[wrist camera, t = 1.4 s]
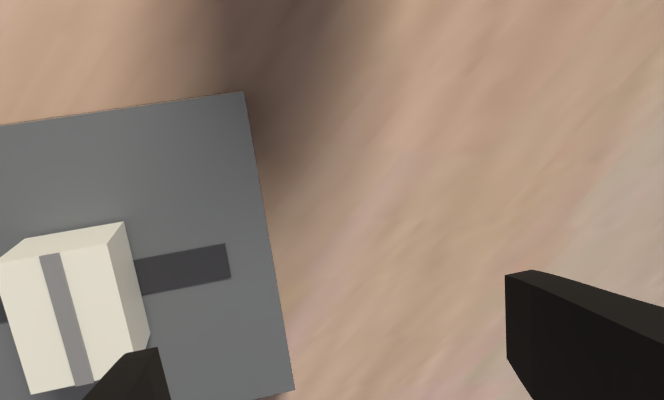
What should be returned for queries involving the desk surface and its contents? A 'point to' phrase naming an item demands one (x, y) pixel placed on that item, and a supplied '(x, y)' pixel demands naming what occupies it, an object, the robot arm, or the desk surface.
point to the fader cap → (73, 305)
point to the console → (160, 235)
